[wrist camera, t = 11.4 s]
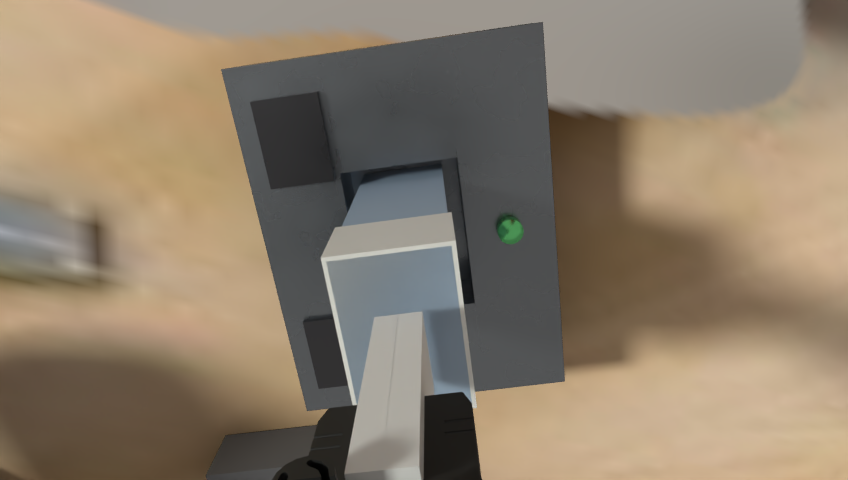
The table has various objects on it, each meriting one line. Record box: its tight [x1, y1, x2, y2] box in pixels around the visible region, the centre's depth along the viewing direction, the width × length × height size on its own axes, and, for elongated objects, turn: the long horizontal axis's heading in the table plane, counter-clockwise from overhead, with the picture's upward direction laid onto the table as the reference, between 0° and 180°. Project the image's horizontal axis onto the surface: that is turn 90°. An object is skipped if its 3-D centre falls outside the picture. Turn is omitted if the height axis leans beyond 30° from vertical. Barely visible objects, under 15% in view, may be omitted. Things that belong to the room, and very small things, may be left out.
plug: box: [321, 164, 477, 408], centre depth 24 cm, size 4×6×12 cm
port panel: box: [221, 22, 565, 411], centre depth 29 cm, size 14×18×5 cm
